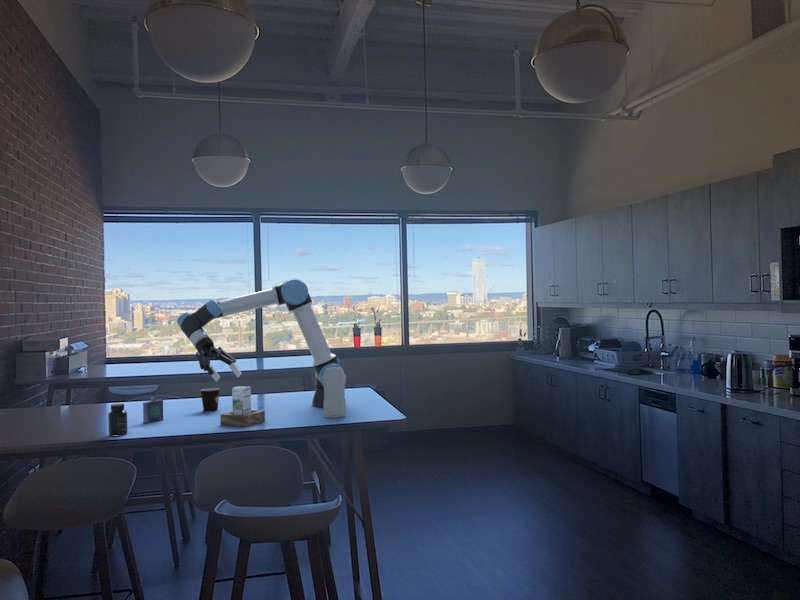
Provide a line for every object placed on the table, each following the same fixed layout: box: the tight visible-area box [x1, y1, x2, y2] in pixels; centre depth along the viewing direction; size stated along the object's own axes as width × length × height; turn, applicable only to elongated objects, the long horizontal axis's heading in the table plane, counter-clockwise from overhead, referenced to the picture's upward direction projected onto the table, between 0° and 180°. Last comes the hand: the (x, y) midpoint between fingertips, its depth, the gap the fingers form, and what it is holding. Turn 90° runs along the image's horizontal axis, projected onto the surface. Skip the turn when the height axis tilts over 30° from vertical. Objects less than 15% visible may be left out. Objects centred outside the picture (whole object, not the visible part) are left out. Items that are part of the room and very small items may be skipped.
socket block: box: [219, 409, 266, 428], centre depth 267 cm, size 13×13×4 cm
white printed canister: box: [231, 385, 252, 415], centre depth 267 cm, size 6×6×14 cm
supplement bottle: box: [107, 403, 129, 436], centre depth 250 cm, size 7×7×12 cm
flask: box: [142, 396, 164, 424], centre depth 275 cm, size 9×3×11 cm, turn 142°
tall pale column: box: [322, 367, 347, 419], centre depth 277 cm, size 11×4×22 cm, turn 102°
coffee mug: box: [200, 387, 220, 412], centre depth 300 cm, size 12×9×10 cm
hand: (229, 377), depth 270 cm, fingers open, 13 cm apart
